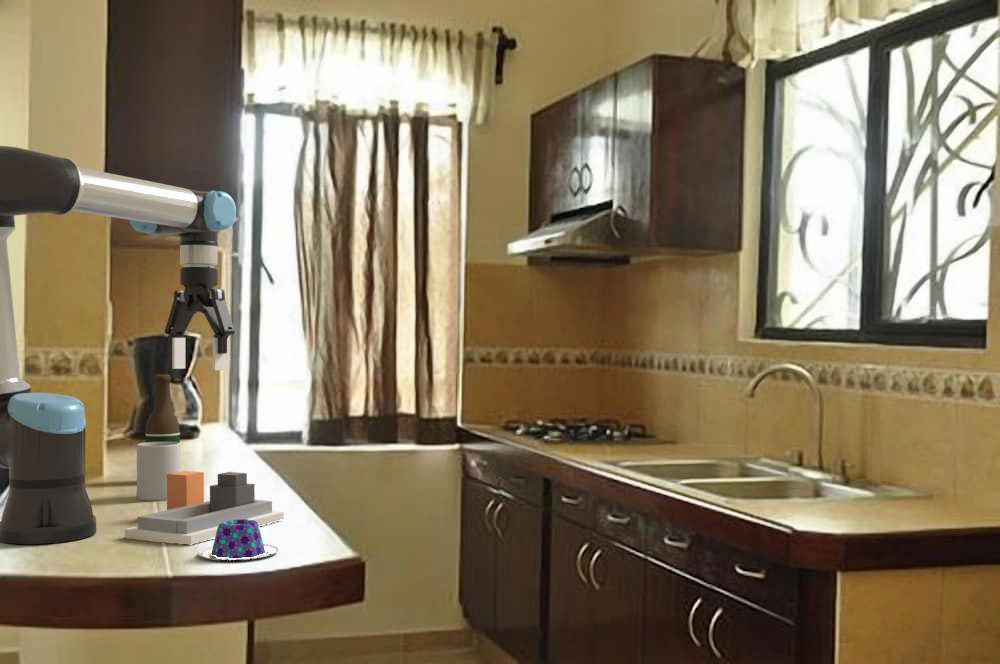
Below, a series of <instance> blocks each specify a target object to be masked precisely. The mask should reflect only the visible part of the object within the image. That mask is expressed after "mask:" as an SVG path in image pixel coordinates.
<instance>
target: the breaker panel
mask: <svg viewBox="0 0 1000 664" xmlns="http://www.w3.org/2000/svg"><path fill="white" fill-rule="evenodd" d="M284 514H285V513H284V512H283V511H274V510H273V501H272V500H263V499H255V503H250V504H246V505H242V506H237V507H233V508H229V509H225V510H220V511H216V512H212V513H210V500H208V501H204V502H203V503H198V504H193V505H189V506H184V507H180V508H175V509H171V510H167V509H166V510H162V511H158V512H153V513H148V514H144V515H140V516H137V526H132V527H128V528H124V538H125V539H129V540H139V541H147V542H154V543H155V542H156V543H164V542H165V544H173V543H182V544H194V543H197V542H201V541H204V540H208V539H211V538H213V537H215V536H216V532H217V528H218V526H219V524H220V523H222V522H224V521H228V520H236V519H239V520H241V519H248V520H254V521H256V522H257V523H258V526H259V525H263V524H267V523H270V522H274V521H277V520H280V519H284V518H285V517H284V516H285V515H284ZM284 520H285V519H284ZM182 544H181V545H182Z"/></svg>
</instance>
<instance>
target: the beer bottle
mask: <svg viewBox="0 0 1000 664" xmlns="http://www.w3.org/2000/svg"><path fill="white" fill-rule="evenodd" d="M171 380H172V378H171V375H170V374H167V373H165V374H156V375H154V381H155V384H154V401H153V408H152V409H153V410H152V412H151V413H150V415H149V416H148V418H147V421H146V425H145V443H147V442H178V443H180V442H181V441H180V440H181V439H180V437H181V432H180V424H179V421H178V418H177V416H176V415H175V413H174V412H173V410H172V409H173V408H172V402H171V385H170V384H171V383H170V381H171ZM180 444H181V443H180Z"/></svg>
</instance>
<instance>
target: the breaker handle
mask: <svg viewBox="0 0 1000 664" xmlns="http://www.w3.org/2000/svg"><path fill="white" fill-rule="evenodd" d="M247 478H248V473H247V472H235V471H226V472H221V473H217V484H212V485H209V501H210V513H212V512H216V511H220V510H225V509H229V508H233V507H237V506H242V505H246V504H250V503H255V500H256V499H255V483H248V481H247V480H248V479H247Z"/></svg>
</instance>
